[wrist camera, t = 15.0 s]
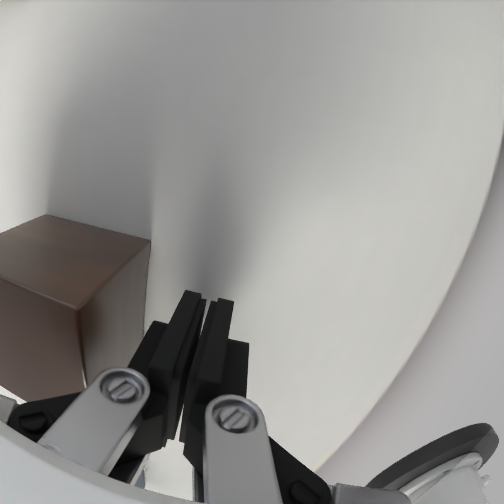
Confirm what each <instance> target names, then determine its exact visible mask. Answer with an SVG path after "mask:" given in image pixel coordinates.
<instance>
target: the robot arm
mask: <svg viewBox="0 0 504 504" xmlns="http://www.w3.org/2000/svg"><path fill="white" fill-rule="evenodd" d="M206 301H207V299H203V298H201V294H200V293H196V292H192V291H188V290H185V292H184V294H183V296H182V298H181V300H180V302H179V304H178V306H177V308H176V310H175V312H174V314H173V316H172V318H171V320H170V322H169V324H166V323H162V322H159V321H153V322H152V324H151V326H150V327H149V329H148V331H147V333H146V334H145V336H144V338H143V340H142V341H141V343H140V345H139V347H138V348H137V350H136V352H135V354H134V356H133V357H132V359H131V361H130V363H129V365H128V366H127V367H120V366H118V367H110V368H107V369H105V370H103V371H102V372H100V373H99V374H98V375H97V376H96V377H95V378H94V379H93V380H92V381H91V382H90V383H89V385H88V386H87V387H86V388H85V389H84V390H83V391H81V392H77V393H72V394H67V395H63V396H58V397H53V398H47V399H42V400H37V401H31V402H27V403H24V404H21V405H19V404H17V402H16V400H14V399H12V398H9V397H6V396H3V395H0V504H488V502H487V499H486V497H485V495H484V493H483V490H484V489H485V487H484V485H485V484H487V483H489V481H490V476H489V475H485V476H483V477H481V478H480V476H479V474H478V471H477V470H478V469H479V467H480V466H481V464H482V458H481V456H480V454H479V453H476V452H473V453H468V454H464V455H461V456H459V457H456V458H454V459H451V460H449V461H447V462H445V463H443V464H441V465H439V466H437V467H435V468H433V469H431V470H429V471H427V472H426V473H424V474H422V475H420V476H419V477H417V478H415V479H414V480H412V481H411V482H409V483H407V484H406V485H404V486H403V487H402V488H400V489H399V490H398V491H396V490H389V489H377V488H368V487H359V486H351V485H346V484H339V483H336V484H335V485H334V486H333V485H327V483H326V482H325V481H324V480H322V479H321V478H320V477H319V476H318V475H316V474H315V473H314V472H312V471H311V470H310V469H308V468H307V467H306V466H305V465H303V464H302V463H301V462H300V461H298V460H297V459H296V458H295V457H293V456H292V455H291V454H290V453H288V452H287V451H286V450H285V449H284V448H282V447H281V446H280V445H279V444H278V443H277V442H275V441H274V440H273V439H272V438H271V437H270V436H268V433H267V428H266V423H265V418H264V415H263V413H262V410H261V409H260V408H259V407H258V406H257V404H255V403H254V402H252V401H251V400H249V399H247V398H246V392H247V374H248V357H249V343H246V342H241V341H236V340H232V339H228V335H229V329H230V323H231V317H232V311H233V305H234V301H230V300H226V299H221V298H218V301H217V302H216V301H211V303H210V306H209V309H208V312H207V316H206V319H205V322H204V325H203V329H202V332H201V327H202V322H203V317H204V311H205V306H206ZM200 333H201V335H200ZM199 338H200V339H199ZM183 405H184V408H183ZM182 409H183V415H182V422H181V430H180V437H179V442H183V443H185V445H184V451H183V455H184V456H185V457H186V458H187V460H188V461H189V462H190V463H191V464H192V465H193V469H192V482H193V501H189V500H185V499H180V498H176V497H172V496H168V495H164V494H160V493H156V492H153V491H149V490H146V489H142V488H139V487H136V486H134V485H135V483H136V481H137V479H138V477H139V476H140V474H141V472H142V470H143V468H144V466H145V464H146V463H147V461H148V459H149V456H150V453H151V452H154V451H157V450H159V449H161V448H162V447H165V446H166V442H167V439H171V440H174V438H175V434H176V431H177V427H178V423H179V420H180V416H181V412H182Z"/></svg>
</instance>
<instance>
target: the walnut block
mask: <svg viewBox="0 0 504 504" xmlns="http://www.w3.org/2000/svg"><path fill="white" fill-rule="evenodd" d="M150 246H151V241H150V240H146V239H142V238H138V237H134V236H130V235H126V234H122V233H118V232H113V231H109V230H105V229H101V228H97V227H93V226H89V225H85V224H81V223H77V222H73V221H69V220H65V219H61V218H57V217H53V216H49V215H43V216H40V217H38V218H35V219H33V220H30V221H28V222H26V223H23V224H21V225H18V226H16V227H14V228H11V229H9V230H7V231H5V232H2V233H0V385H1V386H2V387H4V388H5V389H7V390H8V391H10V392H11V393H13V394H15V395H16V396H18V397H20V398H21V399H23V400H25V401H26V402H31V401H37V400H42V399H47V398H53V397H58V396H63V395H67V394H72V393H77V392H81V391H83V390H84V389H85V388H86V387H87V386H88V385H89V383H90V382H91V381H92V380H93V379H94V378H95V377H96V376H97V375H98V374H99V373H100V372H102V371H103V370H105V369H107V368H110V367H118V366H120V367H127V366H128V365H129V363H130V361H131V359H132V357H133V356H134V354H135V352H136V350H137V348H138V347H139V345H140V343H141V341H142V340H143V324H144V308H145V295H146V283H147V273H148V263H149V254H150Z"/></svg>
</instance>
